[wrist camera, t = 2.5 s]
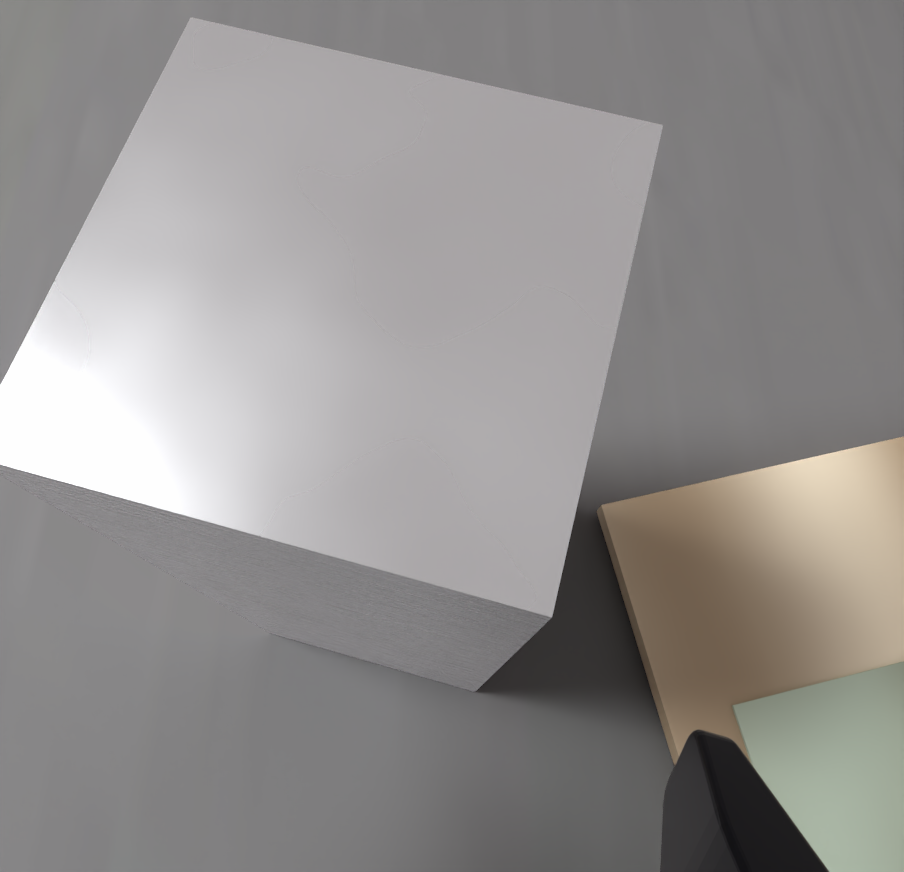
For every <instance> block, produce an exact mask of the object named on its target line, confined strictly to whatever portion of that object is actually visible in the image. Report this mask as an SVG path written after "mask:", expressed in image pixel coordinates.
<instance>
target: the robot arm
mask: <svg viewBox="0 0 904 872" xmlns="http://www.w3.org/2000/svg"><path fill="white" fill-rule="evenodd" d="M660 872H829V870H828V869H827V868H826V866H825V865H824V863H823V862H822V861H821V859H820V858H819V857H818V855H817V854H816V852H815V851H814V850H813V848H812V847H811V845H810V844H809V843H808V841H807V840H806V839H805V837H804V836H803V834H802V833H801V832H800V830H799V829H798V828H797V826H796V825H795V823H794V822H793V821H792V819H791V818H790V816H789V815H788V814H787V812H786V811H785V810H784V808H783V807H782V805H781V804H780V803H779V801H778V800H777V799H776V797H775V796H774V794H773V793H772V792H771V790H770V789H769V787H768V786H767V785H766V783H765V782H764V781H763V779H762V778H761V776H760V775H759V774H758V772H757V771H756V770H755V768H754V767H753V765H752V764H751V763H750V761H749V760H748V758H747V757H746V756H745V754H744V753H743V752H742V750H741V749H740V747H739V746H738V745H737V744H736V743H735V742H734V741H733V740H732V739H730V738H728V737H725V736H722V735H718V734H715V733H711V732H708V731H704V730H700V729H698V730H695V731H693V732H692V733H691V734H690V735H689V737H688V738H687V740H686V743H685V745H684V747H683V749H682V751H681V754H680V756H679V758H678V760H677V762H676V765H675V767H674V769H673V771H672V773H671V776H670V778H669V780H668V783H667V786H666V790H665V795H664V803H663V823H662V845H661V868H660Z"/></svg>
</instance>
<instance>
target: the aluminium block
mask: <svg viewBox="0 0 904 872" xmlns="http://www.w3.org/2000/svg"><path fill="white" fill-rule="evenodd" d="M662 127H663V125H660V124H655V123H651V122H647V121H642V120H638V119H633V118H629V117H625V116H620V115H616V114H612V113H607V112H603V111H598V110H594V109H590V108H585V107H581V106H577V105H572V104H568V103H563V102H559V101H555V100H550V99H546V98H542V97H537V96H533V95H528V94H524V93H520V92H515V91H511V90H507V89H502V88H498V87H493V86H489V85H485V84H480V83H476V82H472V81H467V80H463V79H458V78H454V77H450V76H445V75H441V74H437V73H432V72H428V71H423V70H419V69H415V68H410V67H406V66H402V65H397V64H393V63H388V62H384V61H380V60H375V59H371V58H367V57H362V56H358V55H353V54H349V53H345V52H340V51H336V50H332V49H327V48H323V47H318V46H314V45H310V44H305V43H301V42H297V41H292V40H288V39H283V38H279V37H275V36H270V35H266V34H262V33H257V32H253V31H249V30H244V29H240V28H235V27H231V26H227V25H222V24H218V23H214V22H209V21H205V20H200V19H196V18H192V17H191V18H190V20H189V22H188V24H187V26H186V28H185V30H184V32H183V33H182V35H181V37H180V39H179V41H178V43H177V45H176V47H175V49H174V51H173V53H172V55H171V57H170V59H169V61H168V62H167V64H166V66H165V68H164V70H163V72H162V74H161V76H160V78H159V80H158V82H157V84H156V86H155V88H154V90H153V92H152V93H151V95H150V97H149V99H148V101H147V103H146V105H145V107H144V109H143V111H142V113H141V115H140V117H139V119H138V121H137V122H136V124H135V126H134V128H133V130H132V132H131V134H130V136H129V138H128V140H127V142H126V144H125V146H124V148H123V150H122V151H121V153H120V155H119V157H118V159H117V161H116V163H115V165H114V167H113V169H112V171H111V173H110V175H109V177H108V179H107V181H106V182H105V184H104V186H103V188H102V190H101V192H100V194H99V196H98V198H97V200H96V202H95V204H94V206H93V208H92V210H91V211H90V213H89V215H88V217H87V219H86V221H85V223H84V225H83V227H82V229H81V231H80V233H79V235H78V237H77V239H76V241H75V242H74V244H73V246H72V248H71V250H70V252H69V254H68V256H67V258H66V260H65V262H64V264H63V266H62V268H61V270H60V271H59V273H58V275H57V277H56V279H55V281H54V283H53V285H52V287H51V289H50V291H49V293H48V295H47V297H46V299H45V300H44V302H43V304H42V306H41V308H40V310H39V312H38V314H37V316H36V318H35V320H34V322H33V324H32V326H31V328H30V330H29V331H28V333H27V335H26V337H25V339H24V341H23V343H22V345H21V347H20V349H19V351H18V353H17V355H16V357H15V359H14V360H13V362H12V364H11V366H10V368H9V370H8V372H7V374H6V376H5V378H4V380H3V382H2V384H1V386H0V475H1V476H3V477H4V478H6V479H8V480H10V481H11V482H13V483H15V484H16V485H18V486H20V487H21V488H23V489H25V490H27V491H28V492H30V493H32V494H33V495H35V496H37V497H39V498H40V499H42V500H44V501H45V502H47V503H49V504H50V505H52V506H54V507H56V508H57V509H59V510H61V511H62V512H64V513H66V514H68V515H69V516H71V517H73V518H74V519H76V520H78V521H79V522H81V523H83V524H85V525H86V526H88V527H90V528H91V529H93V530H95V531H97V532H98V533H100V534H102V535H103V536H105V537H107V538H108V539H110V540H112V541H114V542H115V543H117V544H119V545H120V546H122V547H124V548H125V549H127V550H129V551H131V552H132V553H134V554H136V555H137V556H139V557H141V558H143V559H144V560H146V561H148V562H149V563H151V564H153V565H154V566H156V567H158V568H160V569H161V570H163V571H165V572H166V573H168V574H170V575H172V576H173V577H175V578H177V579H178V580H180V581H182V582H183V583H185V584H187V585H189V586H190V587H192V588H194V589H195V590H197V591H199V592H201V593H202V594H204V595H206V596H207V597H209V598H211V599H212V600H214V601H216V602H218V603H219V604H221V605H223V606H224V607H226V608H228V609H230V610H231V611H233V612H235V613H236V614H238V615H240V616H241V617H243V618H245V619H247V620H248V621H250V622H252V623H253V624H255V625H257V626H258V627H260V628H262V629H264V630H265V631H267V632H269V633H271V634H274V635H278V636H281V637H285V638H288V639H292V640H295V641H299V642H302V643H306V644H309V645H313V646H316V647H320V648H323V649H327V650H330V651H334V652H337V653H340V654H344V655H347V656H351V657H354V658H358V659H361V660H365V661H368V662H372V663H375V664H379V665H382V666H386V667H389V668H393V669H396V670H400V671H403V672H407V673H410V674H414V675H417V676H421V677H424V678H428V679H431V680H435V681H438V682H442V683H445V684H449V685H452V686H456V687H459V688H462V689H466V690H469V691H473V692H475V691H476V690H478V689H479V688H480V687H481V686H482V685H483V684H484V683H485V682H486V681H487V680H488V679H489V678H490V677H491V676H492V675H493V674H494V673H495V672H496V671H497V670H498V669H499V668H500V667H501V666H502V665H503V664H504V663H505V662H506V661H508V660H509V659H510V658H511V657H512V656H513V655H514V654H515V653H516V652H517V651H518V650H519V649H520V648H521V647H522V646H523V645H524V644H525V643H526V642H527V641H528V640H529V639H530V638H531V637H532V636H533V635H534V634H535V633H536V632H538V631H539V630H540V629H541V628H542V627H543V626H544V625H545V624H546V623H547V622H548V621H549V620H550V619H551V618H552V616H553V611H554V607H555V602H556V598H557V593H558V589H559V585H560V580H561V576H562V571H563V567H564V562H565V558H566V553H567V549H568V545H569V540H570V536H571V531H572V527H573V522H574V518H575V514H576V509H577V505H578V500H579V496H580V491H581V487H582V482H583V478H584V474H585V469H586V465H587V460H588V456H589V451H590V447H591V442H592V438H593V434H594V429H595V425H596V420H597V416H598V411H599V407H600V402H601V398H602V394H603V389H604V385H605V380H606V376H607V371H608V367H609V363H610V358H611V354H612V349H613V345H614V340H615V336H616V331H617V327H618V323H619V318H620V314H621V309H622V305H623V300H624V296H625V291H626V287H627V283H628V278H629V274H630V269H631V265H632V260H633V256H634V252H635V247H636V243H637V238H638V234H639V229H640V225H641V220H642V216H643V212H644V207H645V203H646V198H647V194H648V189H649V185H650V180H651V176H652V172H653V167H654V163H655V158H656V154H657V149H658V145H659V140H660V136H661V132H662Z"/></svg>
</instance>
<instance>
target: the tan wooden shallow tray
mask: <svg viewBox="0 0 904 872" xmlns="http://www.w3.org/2000/svg"><path fill="white" fill-rule="evenodd" d="M597 515H598V518H599V521H600V524H601V528H602V531H603V534H604V537H605V541H606V544H607V547H608V551H609V554H610V557H611V560H612V564H613V567H614V570H615V573H616V577H617V580H618V583H619V587H620V590H621V593H622V596H623V600H624V603H625V606H626V609H627V613H628V616H629V619H630V622H631V626H632V629H633V632H634V636H635V639H636V642H637V645H638V649H639V652H640V655H641V658H642V662H643V665H644V668H645V672H646V675H647V678H648V681H649V685H650V688H651V691H652V694H653V698H654V701H655V704H656V708H657V711H658V714H659V717H660V721H661V724H662V727H663V730H664V734H665V737H666V740H667V744H668V747H669V750H670V753H671V757H672V760H673V763H674V766H675V765H676V762H677V760H678V758H679V756H680V754H681V751H682V749H683V747H684V745H685V743H686V740H687V738H688V737H689V735H690V734H691V733H692V732H693V731H695V730H698V729H700V730H704V731H708V732H711V733H715V734H718V735H722V736H725V737H728V738H730V739H732V740H733V741H734V742H735V743H736V744H737V745H738V746H739V747H740V749H741V750H742V752H743V753H744V754H745V756H746V757H747V758H748V760H749V761H750V763H751V764H752V765H753V767H754V768H755V770H756V771H757V772H758V774H759V775H760V776H761V778H762V779H763V781H764V782H765V783H766V785H767V786H768V787H769V789H770V790H771V792H772V793H773V794H774V796H775V797H776V799H777V800H778V801H779V803H780V804H781V805H782V807H783V808H784V810H785V811H786V812H787V814H788V815H789V816H790V818H791V819H792V821H793V822H794V823H795V825H796V826H797V828H798V829H799V830H800V832H801V833H802V834H803V836H804V837H805V839H806V840H807V841H808V843H809V844H810V845H811V847H812V848H813V850H814V851H815V852H816V854H817V855H818V857H819V858H820V859H821V861H822V862H823V863H824V865H825V866H826V868H827V869H828V870H829V872H904V437H900V438H895V439H891V440H886V441H882V442H878V443H873V444H869V445H864V446H860V447H855V448H851V449H847V450H842V451H838V452H833V453H829V454H825V455H820V456H816V457H811V458H807V459H803V460H798V461H794V462H789V463H785V464H780V465H776V466H772V467H767V468H763V469H758V470H754V471H750V472H745V473H741V474H736V475H732V476H728V477H723V478H719V479H714V480H710V481H705V482H701V483H697V484H692V485H688V486H683V487H679V488H675V489H670V490H666V491H661V492H657V493H652V494H648V495H644V496H639V497H635V498H630V499H626V500H622V501H617V502H613V503H608V504H604V505H601V506H600V507H599V509H598V510H597Z"/></svg>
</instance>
